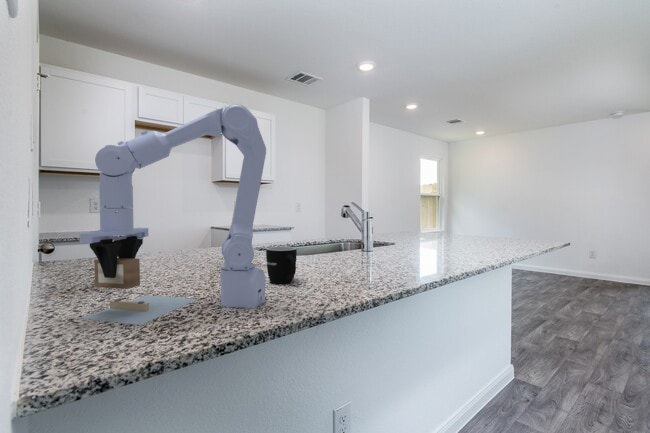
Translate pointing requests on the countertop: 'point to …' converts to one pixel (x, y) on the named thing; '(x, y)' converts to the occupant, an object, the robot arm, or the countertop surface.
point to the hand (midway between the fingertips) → (118, 275)
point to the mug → (281, 264)
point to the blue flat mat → (139, 309)
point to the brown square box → (119, 274)
